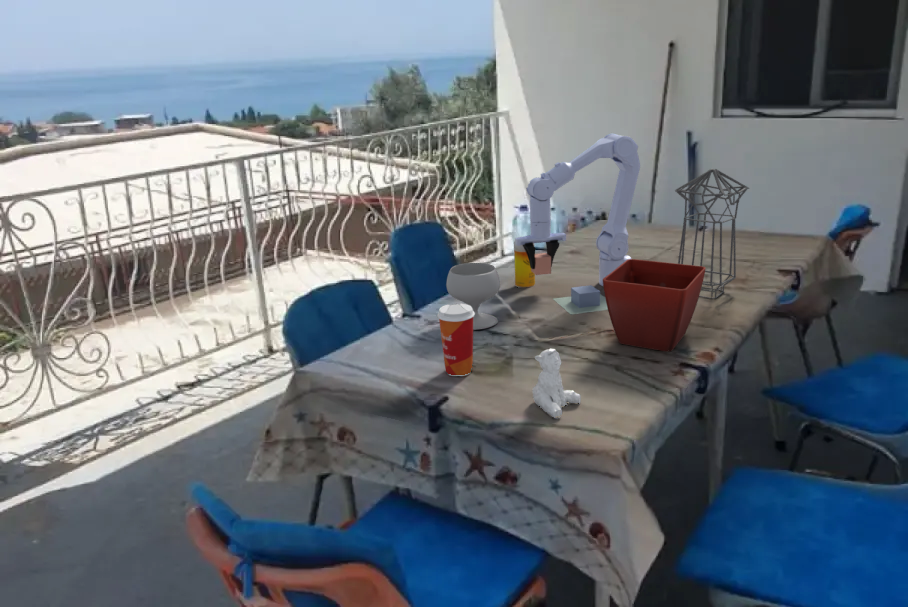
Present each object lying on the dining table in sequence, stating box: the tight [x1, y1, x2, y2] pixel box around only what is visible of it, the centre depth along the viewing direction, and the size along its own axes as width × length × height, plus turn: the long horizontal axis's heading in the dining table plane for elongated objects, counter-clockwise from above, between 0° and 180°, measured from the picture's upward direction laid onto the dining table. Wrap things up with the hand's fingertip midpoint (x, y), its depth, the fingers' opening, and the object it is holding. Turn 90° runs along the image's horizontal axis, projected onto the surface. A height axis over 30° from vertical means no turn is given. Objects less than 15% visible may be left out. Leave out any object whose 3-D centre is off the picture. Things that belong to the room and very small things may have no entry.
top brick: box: [531, 252, 552, 276], centre depth 205 cm, size 4×4×5 cm
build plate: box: [552, 293, 608, 315], centre depth 196 cm, size 14×14×1 cm
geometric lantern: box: [674, 168, 750, 300], centre depth 196 cm, size 16×16×35 cm
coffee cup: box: [436, 303, 475, 375], centre depth 157 cm, size 8×8×15 cm
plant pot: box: [602, 258, 707, 352], centre depth 169 cm, size 19×19×17 cm
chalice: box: [445, 262, 501, 331], centre depth 186 cm, size 14×14×15 cm
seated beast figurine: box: [531, 348, 582, 419], centre depth 140 cm, size 10×9×12 cm
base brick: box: [570, 284, 601, 308], centre depth 196 cm, size 6×6×4 cm
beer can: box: [513, 236, 536, 289], centre depth 213 cm, size 6×6×15 cm
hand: (541, 267), depth 205 cm, fingers closed on top brick, 4 cm apart
